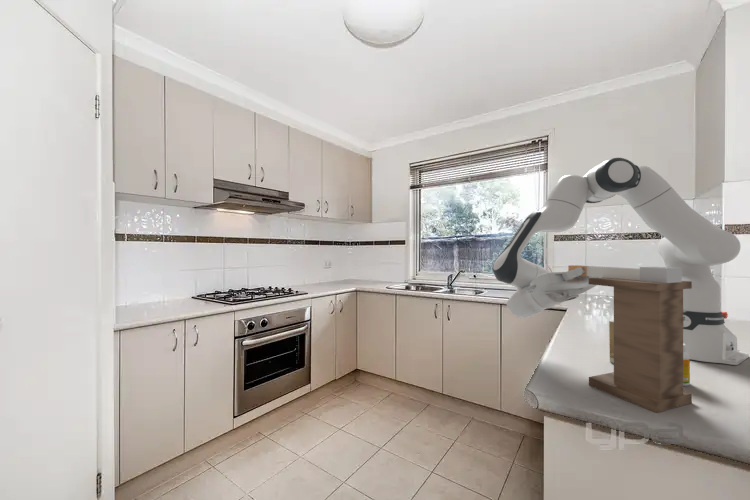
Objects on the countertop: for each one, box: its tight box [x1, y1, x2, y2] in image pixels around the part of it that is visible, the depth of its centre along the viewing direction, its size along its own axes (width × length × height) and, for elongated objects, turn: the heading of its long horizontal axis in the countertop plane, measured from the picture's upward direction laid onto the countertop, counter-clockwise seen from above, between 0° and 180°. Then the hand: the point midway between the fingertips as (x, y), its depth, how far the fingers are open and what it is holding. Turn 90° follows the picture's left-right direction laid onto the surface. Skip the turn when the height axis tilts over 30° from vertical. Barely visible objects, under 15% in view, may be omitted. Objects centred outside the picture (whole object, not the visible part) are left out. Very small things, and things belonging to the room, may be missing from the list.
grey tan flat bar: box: [567, 264, 682, 283], centre depth 78 cm, size 5×23×3 cm, turn 20°
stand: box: [588, 277, 693, 413], centre depth 73 cm, size 12×14×26 cm
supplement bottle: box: [683, 343, 691, 387], centre depth 80 cm, size 5×5×10 cm
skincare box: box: [608, 320, 614, 364], centre depth 93 cm, size 6×4×12 cm
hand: (589, 269), depth 84 cm, fingers closed on grey tan flat bar, 3 cm apart
